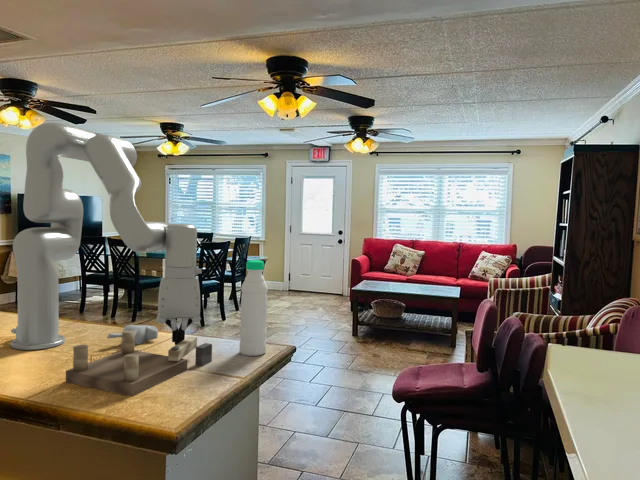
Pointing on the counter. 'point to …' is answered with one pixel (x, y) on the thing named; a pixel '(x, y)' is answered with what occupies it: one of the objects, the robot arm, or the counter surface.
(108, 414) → the counter surface
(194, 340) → the hinged leg
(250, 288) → the water bottle
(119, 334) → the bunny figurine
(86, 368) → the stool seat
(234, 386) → the counter surface
